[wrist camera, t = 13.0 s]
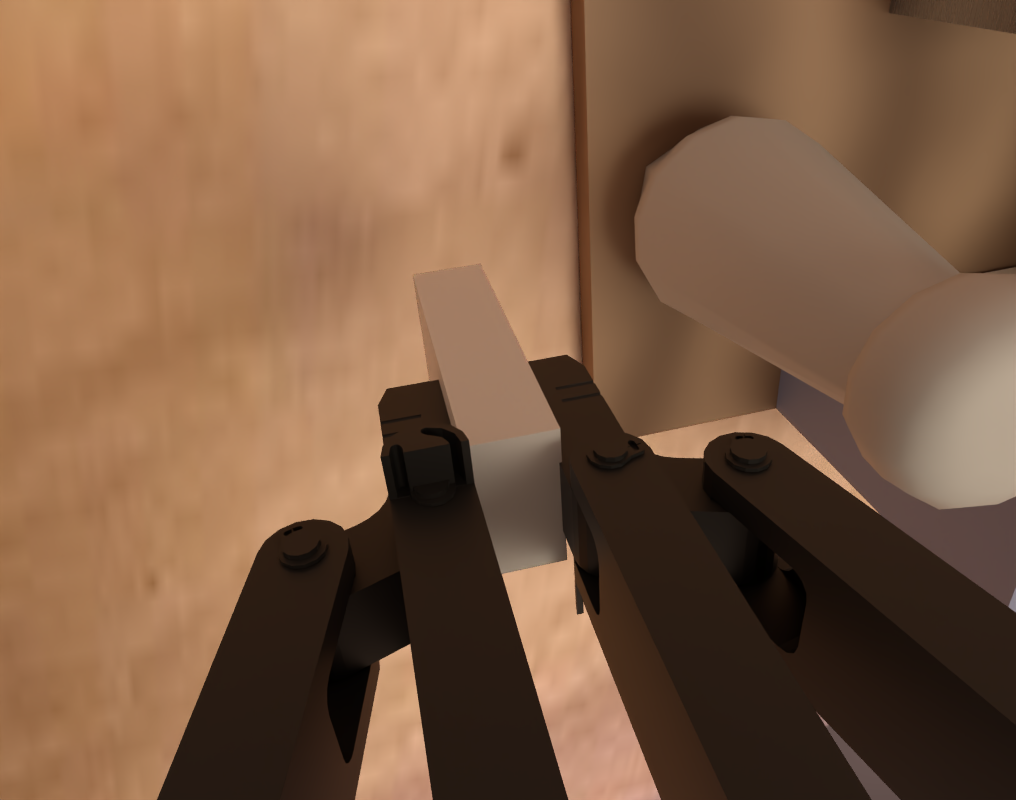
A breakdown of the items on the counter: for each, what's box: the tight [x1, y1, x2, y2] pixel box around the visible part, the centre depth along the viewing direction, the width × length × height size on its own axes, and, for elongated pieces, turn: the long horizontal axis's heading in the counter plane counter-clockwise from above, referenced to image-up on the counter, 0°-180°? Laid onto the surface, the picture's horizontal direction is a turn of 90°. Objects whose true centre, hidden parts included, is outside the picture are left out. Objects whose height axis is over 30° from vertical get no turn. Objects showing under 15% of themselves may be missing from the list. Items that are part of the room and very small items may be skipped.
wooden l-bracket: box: [571, 0, 1016, 437], centre depth 22 cm, size 18×16×10 cm
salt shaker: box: [634, 116, 1016, 510], centre depth 19 cm, size 6×6×13 cm
